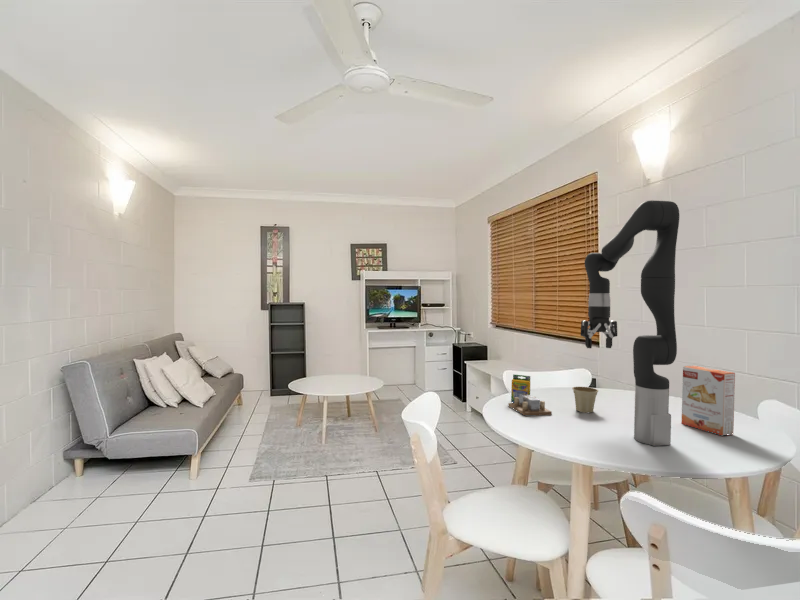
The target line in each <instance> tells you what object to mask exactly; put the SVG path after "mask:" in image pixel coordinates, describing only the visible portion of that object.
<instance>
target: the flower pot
mask: <svg viewBox="0 0 800 600" xmlns="http://www.w3.org/2000/svg"><path fill="white" fill-rule="evenodd" d="M572 390H573V394H574V402H575V410H576V411H579V412H580V413H585V414H588V413H589V414H590V413H594V409H595V403H596V397H597V396H598V392H599V389H596V388H594V387H588V386H573V387H572Z"/></svg>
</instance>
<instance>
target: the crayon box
mask: <svg viewBox="0 0 800 600" xmlns="http://www.w3.org/2000/svg"><path fill="white" fill-rule="evenodd" d="M512 376H513V377H512V379H511V396H510V403H511V402H513V403H514V399H515V397H518V398H519V394H529V395H531V376H530V375H522V374H512ZM521 377H522V378H521Z"/></svg>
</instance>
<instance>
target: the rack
mask: <svg viewBox="0 0 800 600" xmlns="http://www.w3.org/2000/svg"><path fill="white" fill-rule="evenodd" d="M534 397H535V398H537V397H536V396H534ZM508 405H509V406H510V407H509V406H508V407H509V408H511V407H512V408H514V409H515V410H514V409H513V410H514V411H516V410H517V411H519V412H520V413H519V412H518V413H519V414H521V413H522V414H523V415H522V414H521V415H522V416H524V415H536V416H551V415H552V413H553V412H552V411H551V410H549V409H548V408H546V401H544V400H540V410H539V411H531V410H529V409H527V408H528V402H523V406H522V405H520V404H519V398H518V397H515V399H514V403H511V402H508ZM512 408H511V409H512ZM517 411H516V412H517Z"/></svg>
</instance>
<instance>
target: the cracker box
mask: <svg viewBox="0 0 800 600" xmlns="http://www.w3.org/2000/svg"><path fill="white" fill-rule="evenodd" d="M735 383H736V373H735V372H731V371H727V370H720V369H714V368H710V367H709V368H708V367H702V366H698V365H685V366H683V367H682V390H681V393H682V396H681V425H685V426H687V425H688V427H692V428H694V427H695V429H697V428H698V430H700V429H702V430H701V431H704V430H705V431H704V432H707V431H709V432H708V433H710V432H713V433H716V434H719V435H718V436H720V435H727V434H732V433H733V434H734V421H735V390H736V389H735V388H736V384H735ZM713 433H712V434H713ZM716 434H715V435H716ZM733 434H732V435H733ZM727 436H728V435H727Z"/></svg>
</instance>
